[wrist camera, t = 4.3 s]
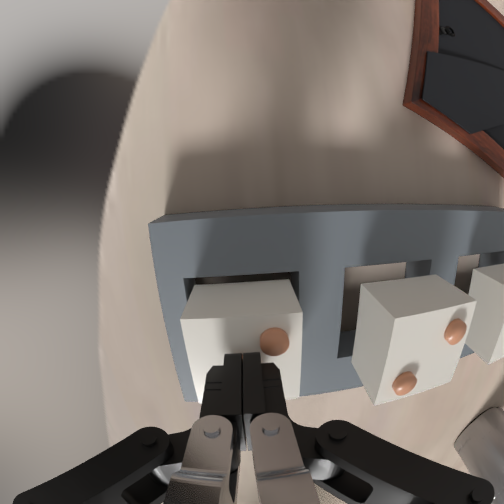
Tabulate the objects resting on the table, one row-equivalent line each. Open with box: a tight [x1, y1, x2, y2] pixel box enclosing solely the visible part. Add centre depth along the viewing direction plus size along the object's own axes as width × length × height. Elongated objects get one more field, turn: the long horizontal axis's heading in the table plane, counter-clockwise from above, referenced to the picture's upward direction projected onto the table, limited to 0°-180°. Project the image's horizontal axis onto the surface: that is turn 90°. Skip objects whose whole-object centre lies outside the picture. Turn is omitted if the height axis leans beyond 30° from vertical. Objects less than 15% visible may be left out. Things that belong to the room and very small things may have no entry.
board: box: [148, 204, 504, 402], centre depth 17 cm, size 26×12×3 cm, turn 93°
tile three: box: [180, 279, 303, 404], centre depth 14 cm, size 5×5×5 cm
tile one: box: [465, 263, 504, 365], centre depth 12 cm, size 5×5×5 cm
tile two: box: [351, 274, 477, 406], centre depth 12 cm, size 5×5×5 cm
